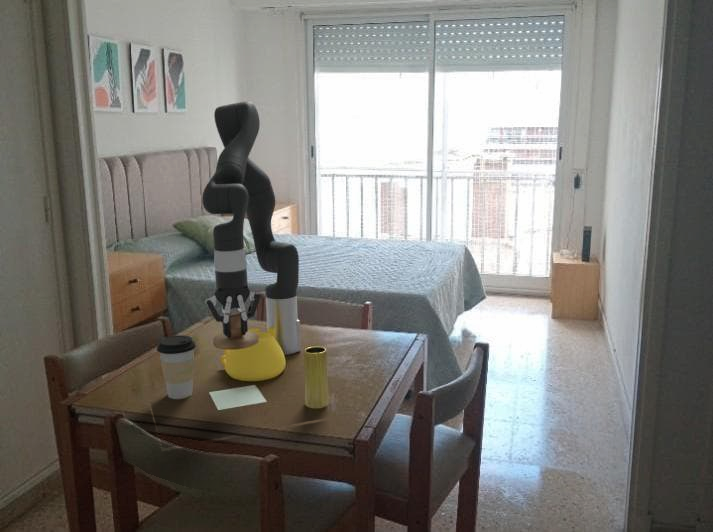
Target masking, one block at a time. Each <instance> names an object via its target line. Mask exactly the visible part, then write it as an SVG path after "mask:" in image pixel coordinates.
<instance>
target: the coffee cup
mask: <svg viewBox="0 0 713 532" xmlns="http://www.w3.org/2000/svg"><path fill="white" fill-rule="evenodd" d="M196 346H197V345H196V342H195V341H194V340H193V337H191V336H189V335H170V336H167V337H164V338H161V339H160V340H159V344H157V346H156V351H157V352H158V353H159V355H160V356H159V357H160V364H161V365H160V366H161V369H162V370H161V371H162V375H163V380H164V383H165V388H166V392H167V393H166V394H167V397H168V398H169V399H172V400H182V399H186V398H189V397H191V396H192V395H193V389H194V388H193V384H194V377H195V372H194V371H195V354H194V353H195V348H196Z"/></svg>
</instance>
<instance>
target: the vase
mask: <svg viewBox="0 0 713 532" xmlns="http://www.w3.org/2000/svg"><path fill="white" fill-rule="evenodd" d="M303 353H304V406H305V407H307V408H310V409H323V408H325V407H328V406H329V405H330V393H329V383H328V381H329V380H328V367H327V366H328V364H327V361H328V360H327V349H326V348H325V347H323V346H318V345H317V346H309V347H307V348H305V349H304V352H303Z"/></svg>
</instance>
